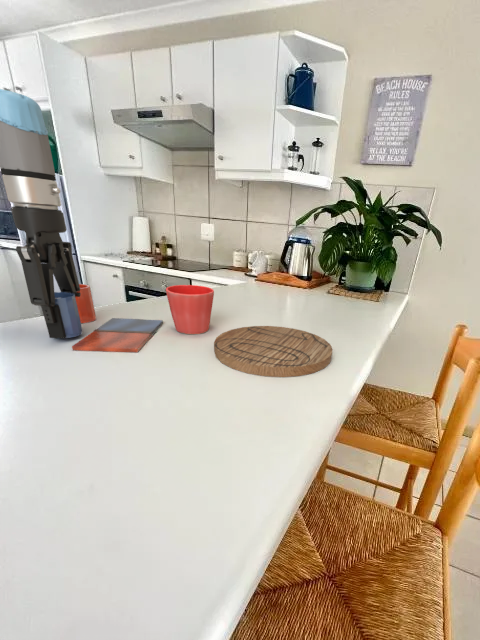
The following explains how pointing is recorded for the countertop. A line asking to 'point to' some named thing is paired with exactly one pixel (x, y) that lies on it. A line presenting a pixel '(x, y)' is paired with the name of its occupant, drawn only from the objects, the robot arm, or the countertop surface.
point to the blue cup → (69, 313)
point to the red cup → (85, 304)
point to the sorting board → (119, 335)
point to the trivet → (272, 351)
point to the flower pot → (190, 307)
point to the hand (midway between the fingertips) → (66, 332)
